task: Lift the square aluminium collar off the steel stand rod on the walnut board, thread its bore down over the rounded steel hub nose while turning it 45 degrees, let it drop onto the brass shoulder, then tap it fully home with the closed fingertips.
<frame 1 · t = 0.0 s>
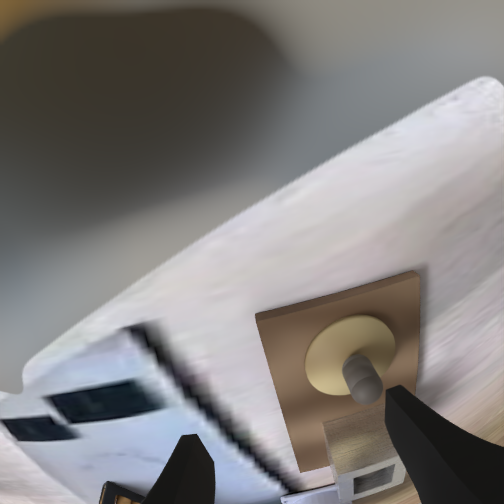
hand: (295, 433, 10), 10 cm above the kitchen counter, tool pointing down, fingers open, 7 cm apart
ammunition clip: (145, 499, 28), on the kitchen counter
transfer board: (350, 390, 23), on the kitchen counter
collar: (355, 432, 23), point 1 cm above the kitchen counter, touching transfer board
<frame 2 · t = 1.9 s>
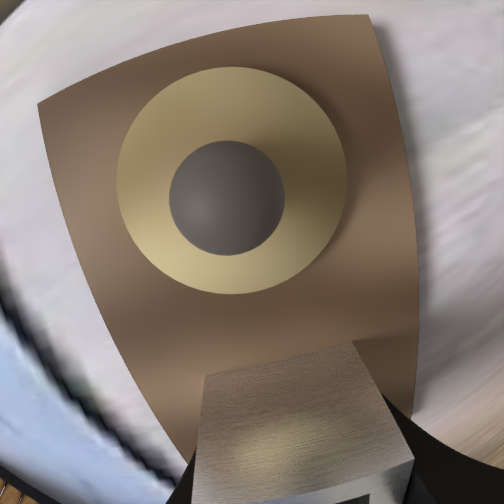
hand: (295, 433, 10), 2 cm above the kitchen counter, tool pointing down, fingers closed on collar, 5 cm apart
ammunition clip: (26, 484, 16), on the kitchen counter
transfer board: (264, 304, 11), on the kitchen counter
collar: (291, 409, 12), point 1 cm above the kitchen counter, touching gripper, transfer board
when the fingers open (4 cm above the kitchen counter, at t = 6.0 s): collar drops 1 cm, resting on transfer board.
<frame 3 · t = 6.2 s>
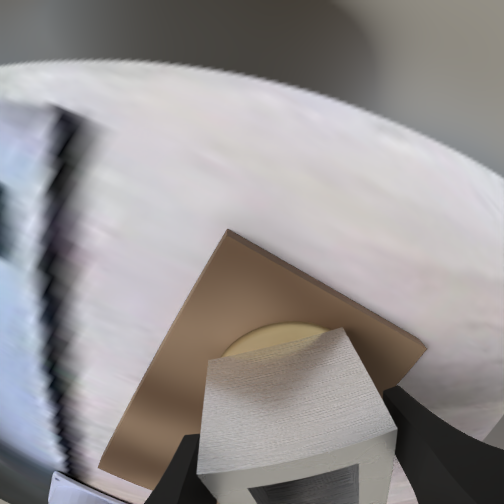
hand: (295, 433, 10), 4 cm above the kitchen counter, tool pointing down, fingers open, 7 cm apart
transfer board: (235, 423, 15), on the kitchen counter
collar: (288, 393, 13), point 2 cm above the kitchen counter, touching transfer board
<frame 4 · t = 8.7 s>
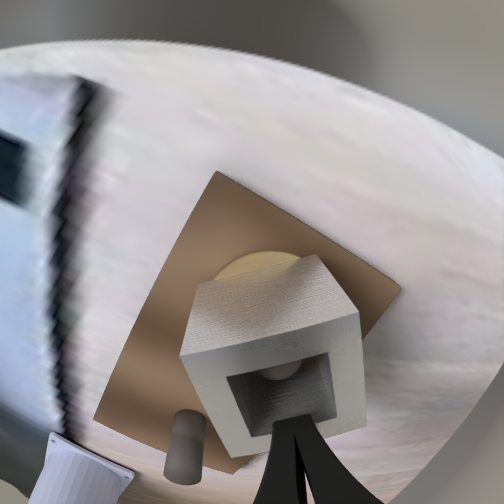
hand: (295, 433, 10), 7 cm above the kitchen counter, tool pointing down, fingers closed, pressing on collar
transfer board: (224, 363, 17), on the kitchen counter
collar: (270, 320, 15), point 2 cm above the kitchen counter, touching gripper, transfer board
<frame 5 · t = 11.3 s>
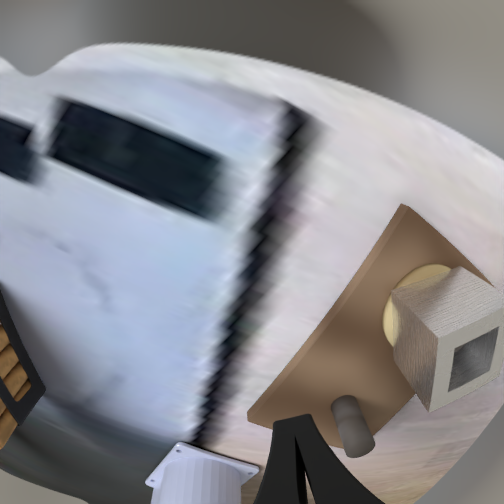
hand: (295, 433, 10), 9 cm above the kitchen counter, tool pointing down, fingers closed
ammunition clip: (13, 336, 20), on the kitchen counter
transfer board: (378, 352, 21), on the kitchen counter
collar: (428, 314, 18), point 2 cm above the kitchen counter, touching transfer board
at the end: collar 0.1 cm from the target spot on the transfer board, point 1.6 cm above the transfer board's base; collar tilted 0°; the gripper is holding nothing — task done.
